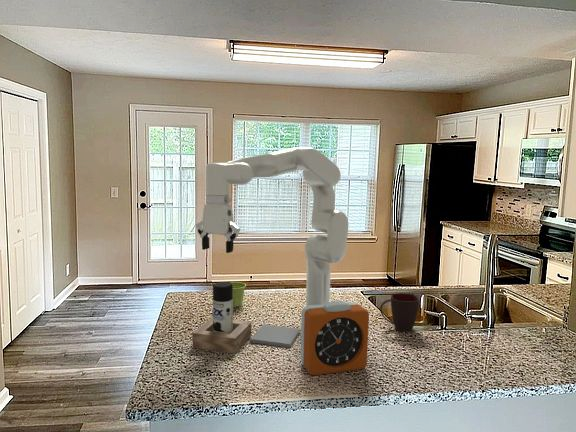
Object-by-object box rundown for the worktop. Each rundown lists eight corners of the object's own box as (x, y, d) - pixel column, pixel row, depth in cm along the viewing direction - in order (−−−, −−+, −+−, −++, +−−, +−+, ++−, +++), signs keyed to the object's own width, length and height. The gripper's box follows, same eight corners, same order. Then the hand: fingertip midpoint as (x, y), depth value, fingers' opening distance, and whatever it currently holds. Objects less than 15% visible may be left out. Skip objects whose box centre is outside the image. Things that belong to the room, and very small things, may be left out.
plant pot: (220, 307, 187) (219, 287, 186) (229, 300, 196) (229, 281, 195) (240, 309, 184) (240, 289, 183) (249, 302, 193) (249, 283, 192)
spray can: (208, 342, 152) (208, 285, 149) (220, 336, 158) (220, 280, 155) (225, 347, 149) (224, 288, 146) (236, 339, 155) (236, 283, 152)
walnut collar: (251, 335, 158) (251, 321, 158) (235, 353, 144) (235, 338, 143) (211, 330, 162) (211, 317, 162) (192, 347, 148) (192, 332, 147)
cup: (420, 334, 162) (422, 302, 161) (381, 333, 163) (383, 301, 161) (413, 324, 172) (415, 293, 170) (376, 323, 172) (378, 292, 171)
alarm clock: (309, 377, 130) (310, 308, 127) (299, 363, 138) (301, 298, 135) (367, 369, 135) (370, 303, 132) (355, 356, 143) (357, 294, 140)
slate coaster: (299, 331, 163) (300, 328, 162) (289, 347, 149) (289, 344, 149) (262, 327, 166) (263, 324, 166) (249, 342, 153) (250, 338, 153)
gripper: (245, 200, 150) (245, 251, 152) (203, 197, 157) (203, 246, 160) (233, 202, 143) (232, 255, 145) (189, 199, 151) (189, 249, 153)
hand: (217, 250), depth 153 cm, fingers open, 9 cm apart
